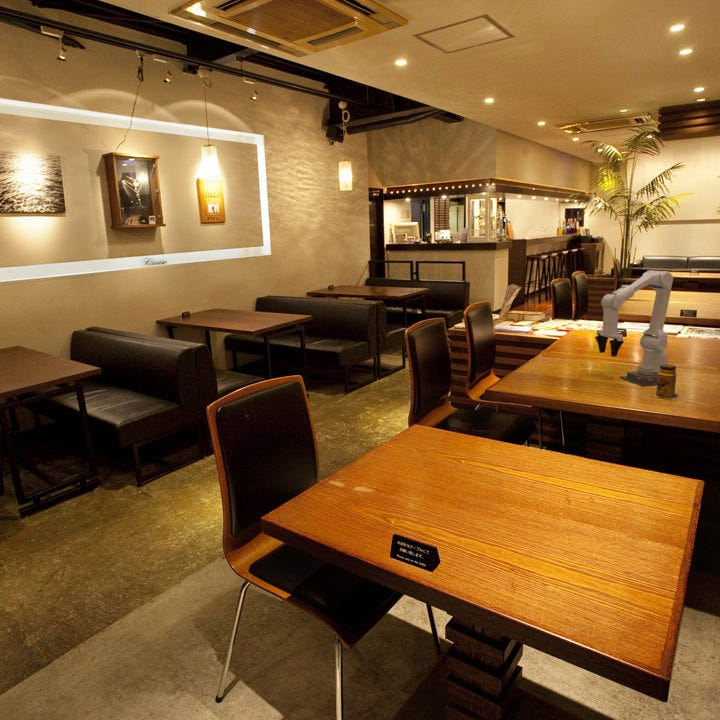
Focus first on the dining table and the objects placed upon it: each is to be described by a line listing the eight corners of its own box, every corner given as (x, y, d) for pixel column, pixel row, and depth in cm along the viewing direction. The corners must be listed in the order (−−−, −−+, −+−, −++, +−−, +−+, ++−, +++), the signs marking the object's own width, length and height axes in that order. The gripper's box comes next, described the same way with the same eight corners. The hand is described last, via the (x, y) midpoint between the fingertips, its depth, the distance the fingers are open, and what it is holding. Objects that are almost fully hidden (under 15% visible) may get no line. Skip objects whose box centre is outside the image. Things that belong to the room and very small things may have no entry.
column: (646, 379, 231) (647, 364, 229) (653, 381, 227) (655, 366, 225) (637, 380, 230) (638, 365, 228) (644, 382, 226) (646, 367, 224)
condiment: (652, 397, 208) (655, 366, 205) (658, 391, 214) (661, 361, 211) (674, 400, 203) (677, 369, 200) (679, 394, 210) (682, 364, 207)
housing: (647, 375, 236) (648, 368, 236) (672, 383, 223) (673, 376, 222) (619, 378, 233) (619, 371, 233) (643, 387, 220) (643, 379, 219)
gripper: (591, 320, 236) (589, 351, 239) (613, 326, 222) (611, 359, 225) (605, 319, 237) (603, 350, 241) (628, 325, 224) (625, 357, 227)
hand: (607, 354), depth 233 cm, fingers open, 7 cm apart
